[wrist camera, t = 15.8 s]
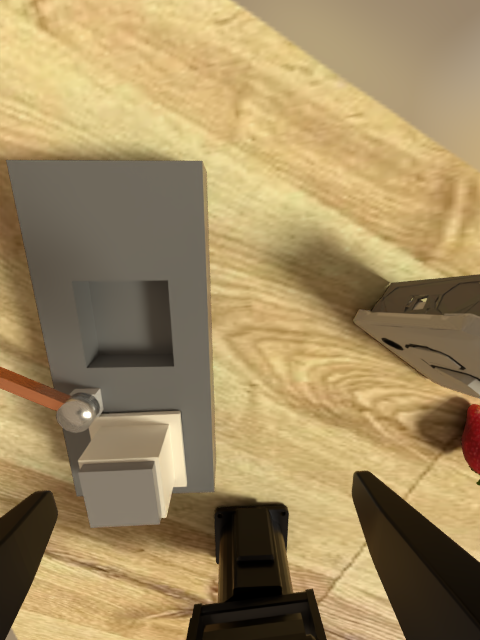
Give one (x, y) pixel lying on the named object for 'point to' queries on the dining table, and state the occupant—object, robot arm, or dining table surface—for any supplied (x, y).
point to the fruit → (472, 439)
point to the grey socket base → (124, 291)
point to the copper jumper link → (54, 400)
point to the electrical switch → (432, 328)
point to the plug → (132, 467)
